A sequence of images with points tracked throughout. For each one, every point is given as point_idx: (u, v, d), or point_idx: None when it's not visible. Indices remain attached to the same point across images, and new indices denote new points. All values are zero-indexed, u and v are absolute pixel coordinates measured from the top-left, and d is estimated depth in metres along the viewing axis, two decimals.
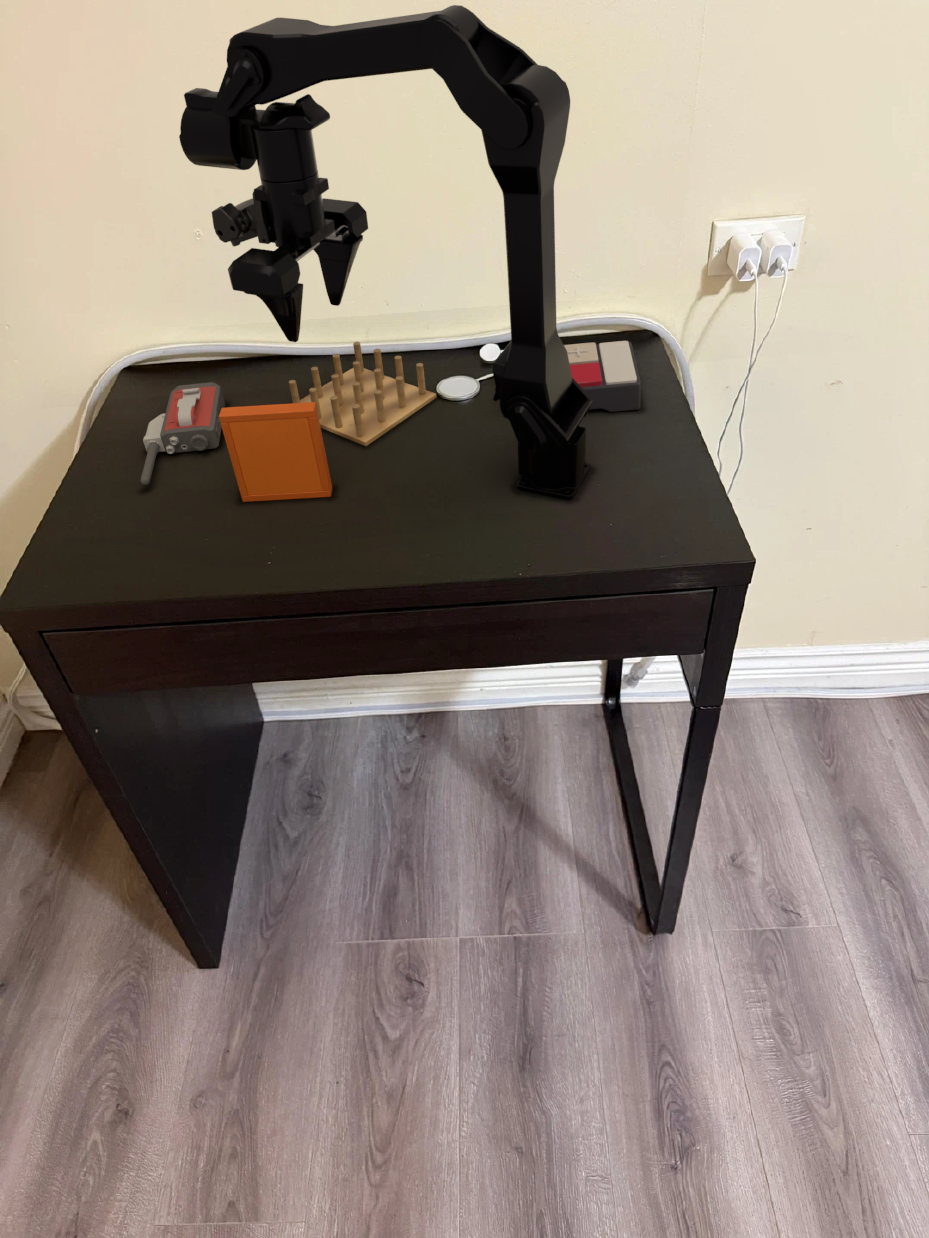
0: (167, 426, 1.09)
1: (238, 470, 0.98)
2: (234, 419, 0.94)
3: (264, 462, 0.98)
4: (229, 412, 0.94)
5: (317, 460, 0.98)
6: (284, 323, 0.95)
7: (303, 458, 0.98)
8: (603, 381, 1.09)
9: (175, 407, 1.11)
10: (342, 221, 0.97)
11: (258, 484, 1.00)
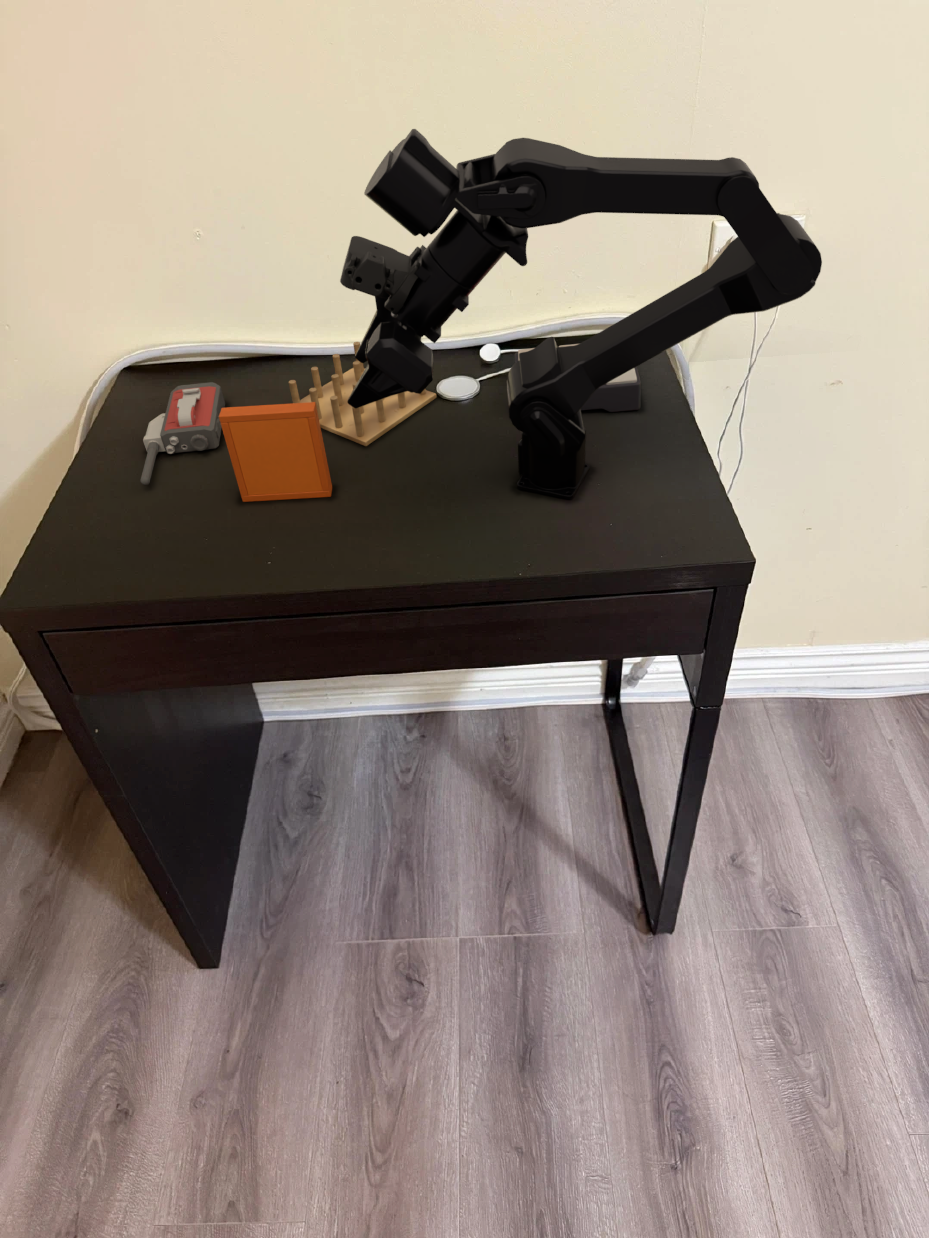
0: (167, 426, 1.09)
1: (238, 470, 0.98)
2: (234, 419, 0.94)
3: (264, 462, 0.98)
4: (229, 412, 0.94)
5: (317, 460, 0.98)
6: (364, 392, 0.87)
7: (303, 458, 0.98)
8: None
9: (175, 407, 1.11)
10: None
11: (258, 484, 1.00)
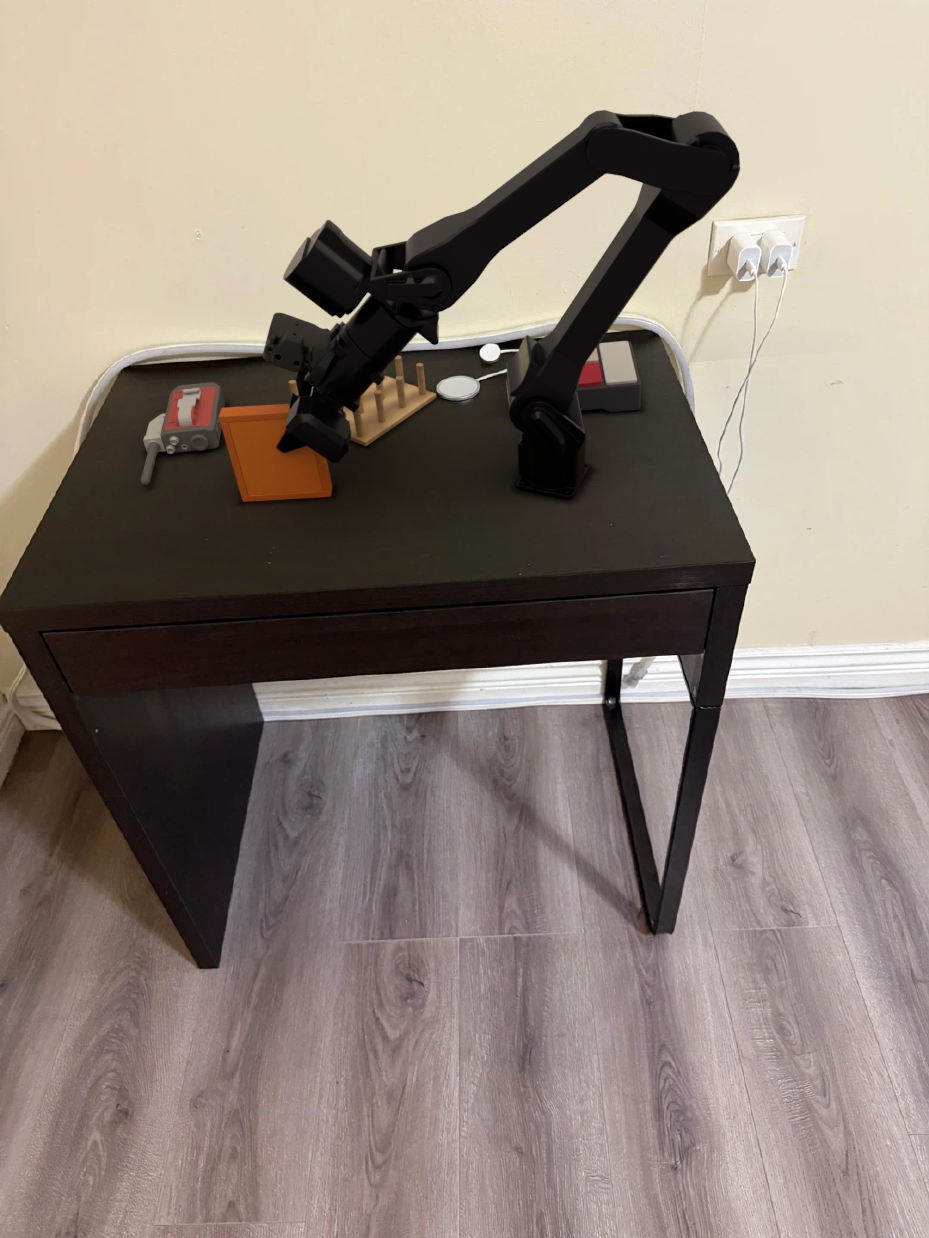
0: (167, 426, 1.09)
1: (238, 470, 0.98)
2: (234, 419, 0.94)
3: (264, 462, 0.98)
4: (229, 412, 0.94)
5: (317, 460, 0.98)
6: (291, 439, 0.95)
7: (303, 458, 0.98)
8: (603, 381, 1.09)
9: (175, 407, 1.11)
10: None
11: (258, 484, 1.00)
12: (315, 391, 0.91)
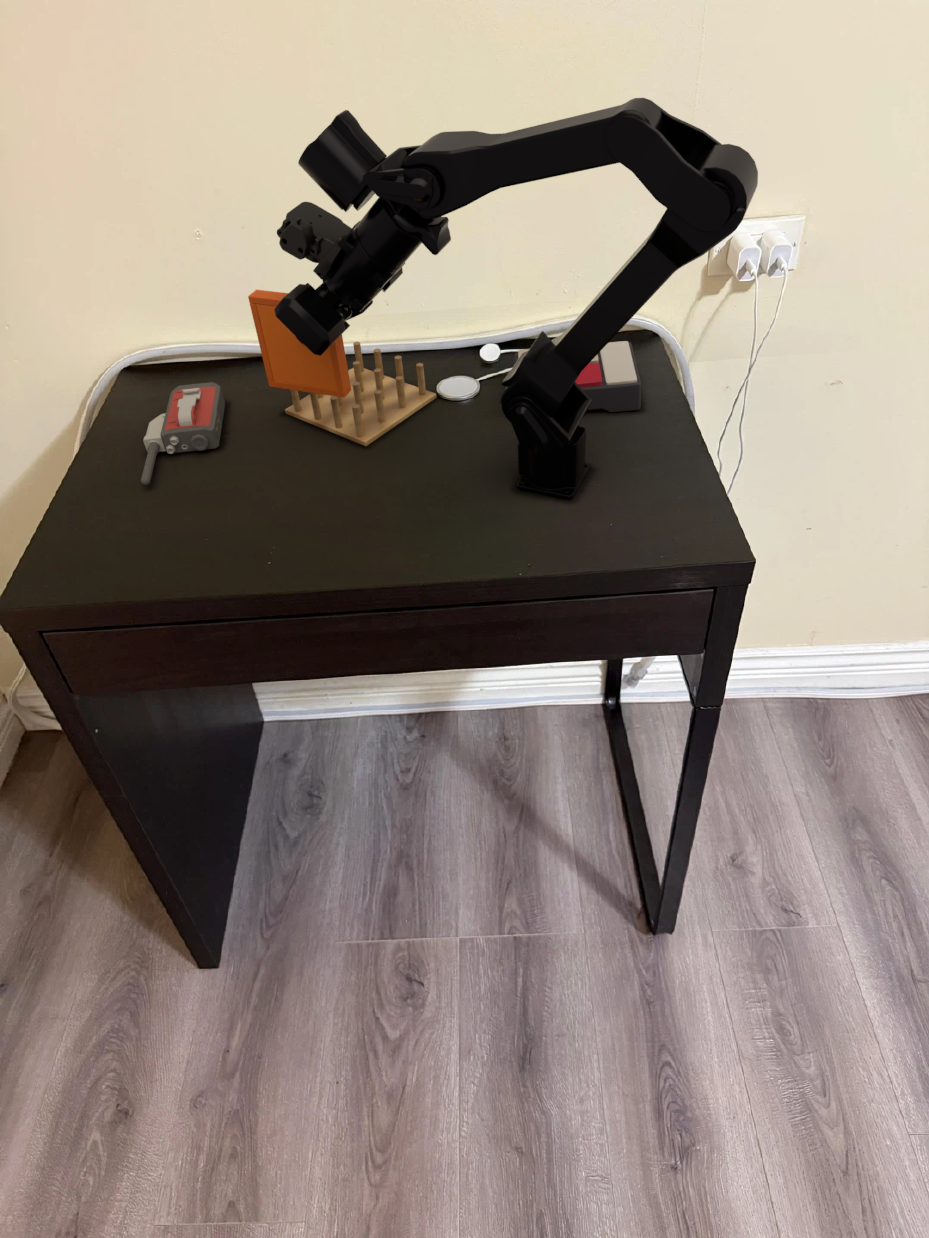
0: (167, 426, 1.09)
1: (265, 354, 1.03)
2: (261, 301, 0.98)
3: (287, 350, 1.02)
4: (259, 294, 0.99)
5: (332, 357, 1.00)
6: None
7: None
8: (603, 381, 1.09)
9: (175, 407, 1.11)
10: None
11: (282, 371, 1.04)
12: (325, 284, 0.92)
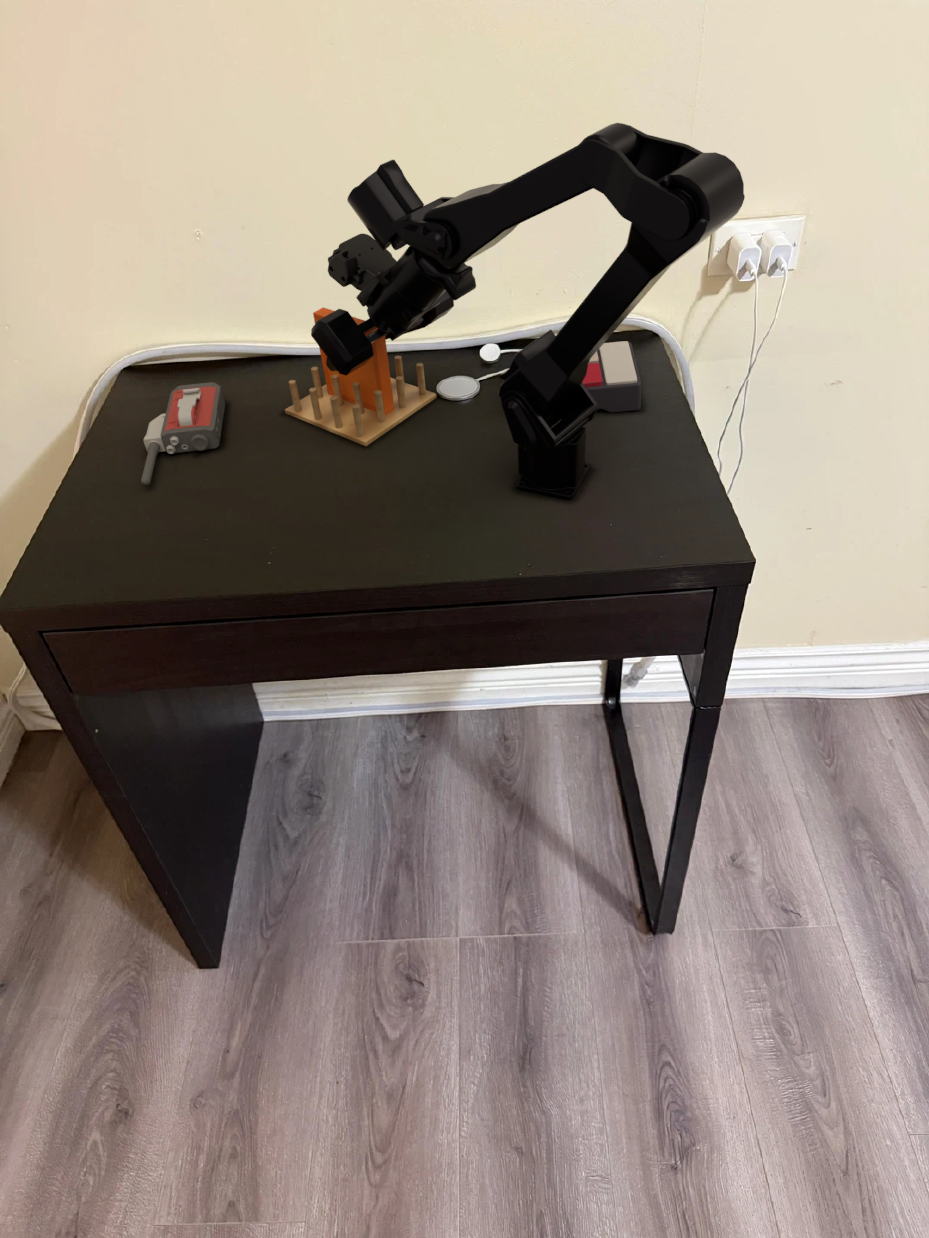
0: (167, 426, 1.09)
1: (325, 365, 1.13)
2: None
3: None
4: (322, 312, 1.09)
5: (376, 378, 1.09)
6: None
7: (367, 372, 1.09)
8: (603, 381, 1.09)
9: (175, 407, 1.11)
10: (430, 308, 1.05)
11: None
12: None
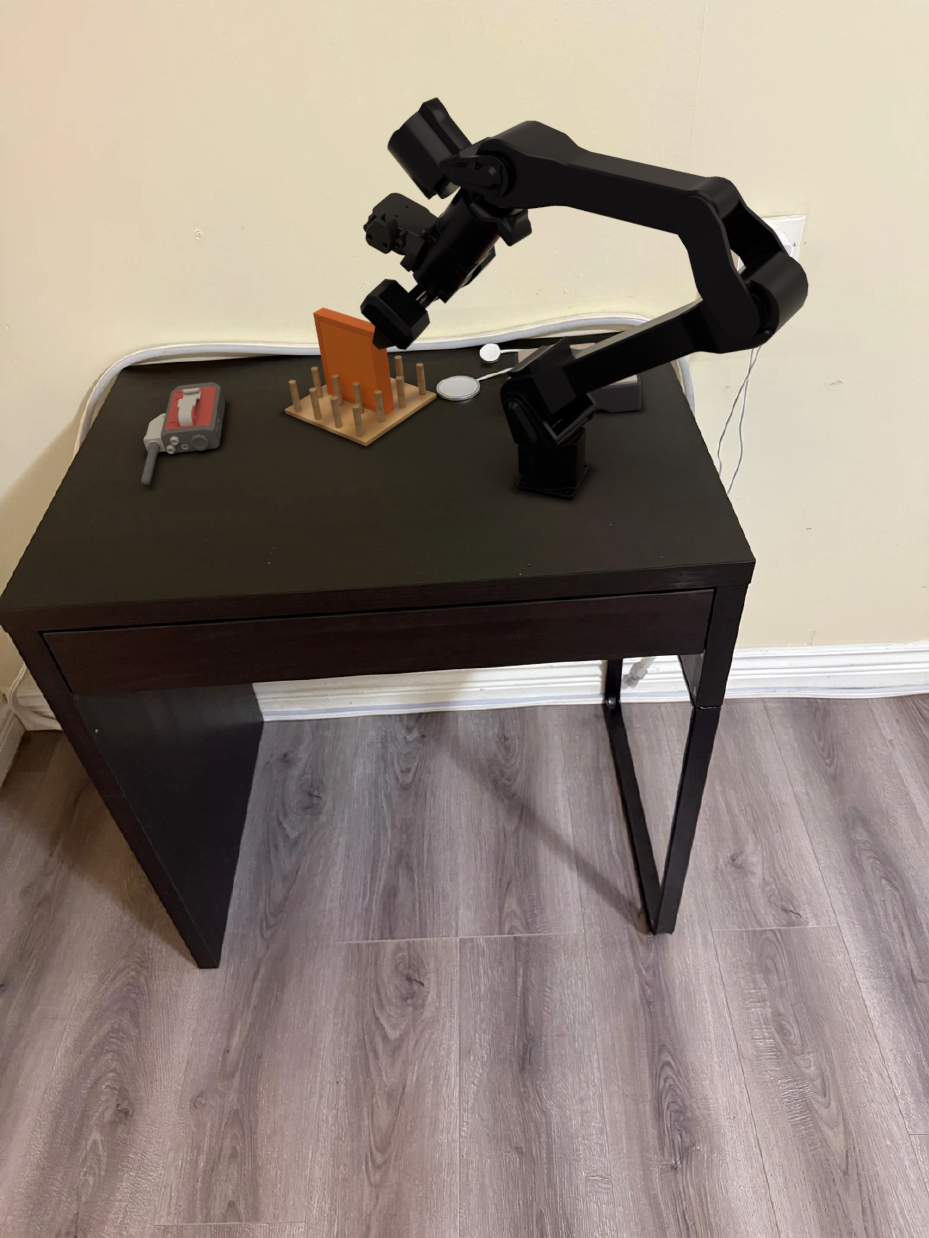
0: (167, 426, 1.09)
1: (325, 365, 1.13)
2: (322, 319, 1.08)
3: (341, 365, 1.11)
4: (322, 312, 1.09)
5: (376, 378, 1.09)
6: (380, 337, 0.96)
7: (367, 372, 1.09)
8: None
9: (175, 407, 1.11)
10: None
11: None
12: None
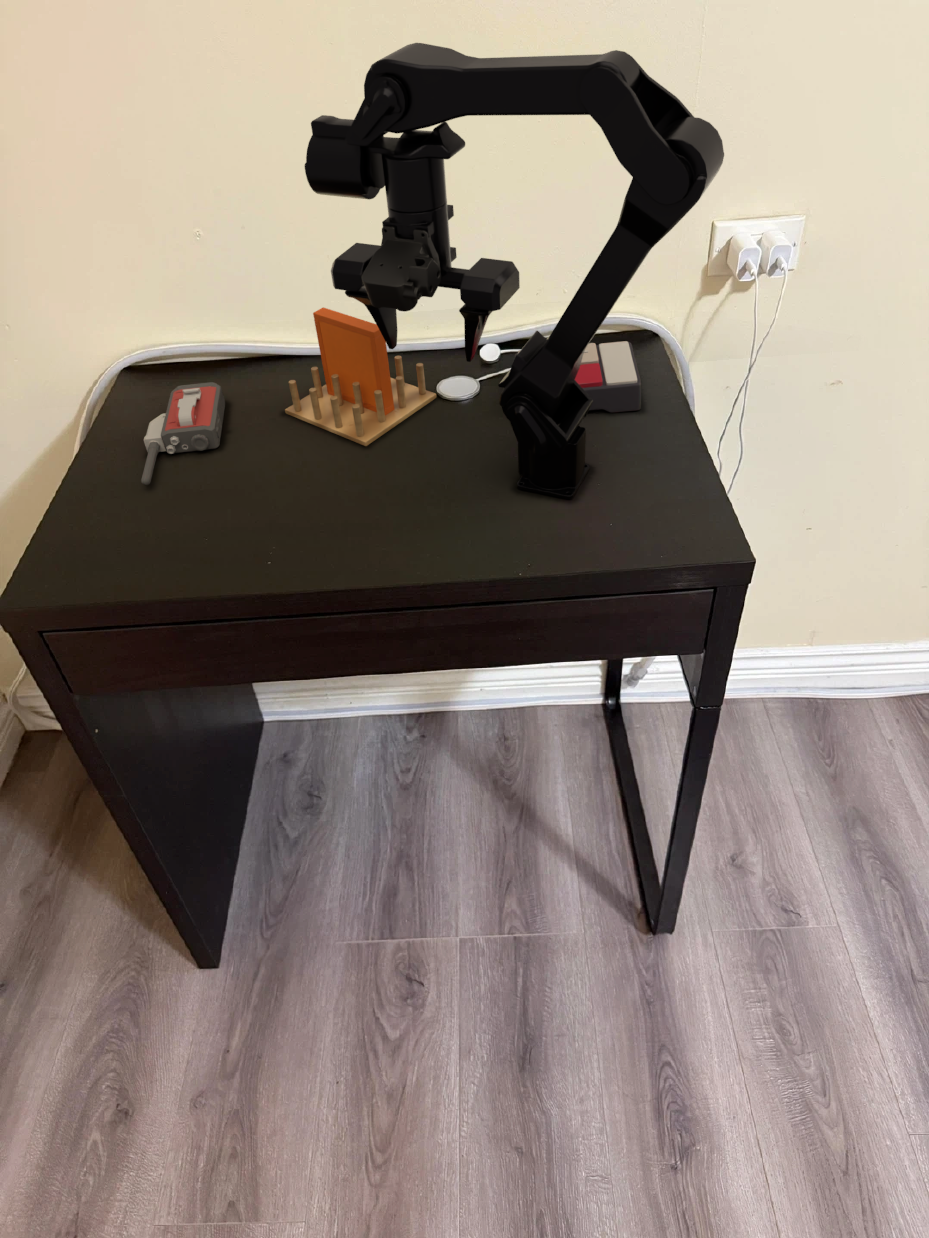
0: (167, 426, 1.09)
1: (325, 365, 1.13)
2: (322, 319, 1.08)
3: (341, 365, 1.11)
4: (322, 312, 1.09)
5: (376, 378, 1.09)
6: (476, 340, 0.93)
7: (367, 372, 1.09)
8: (603, 382, 1.09)
9: (175, 407, 1.11)
10: None
11: None
12: None
